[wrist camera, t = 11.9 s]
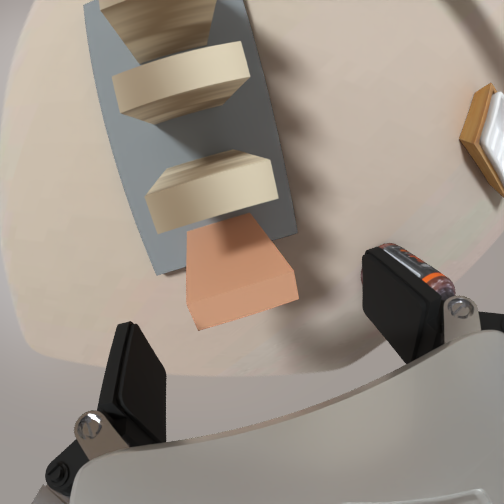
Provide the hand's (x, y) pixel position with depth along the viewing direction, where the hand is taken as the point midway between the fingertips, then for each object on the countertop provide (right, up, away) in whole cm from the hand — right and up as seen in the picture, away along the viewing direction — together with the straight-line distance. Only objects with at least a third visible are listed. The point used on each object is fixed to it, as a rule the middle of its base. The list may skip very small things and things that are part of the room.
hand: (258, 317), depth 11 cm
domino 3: (-4, +9, +9) cm, 13 cm away
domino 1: (-6, +17, +5) cm, 19 cm away
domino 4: (-3, +4, +11) cm, 12 cm away
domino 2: (-5, +13, +7) cm, 15 cm away
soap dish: (+30, +17, +14) cm, 37 cm away
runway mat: (-5, +13, +8) cm, 16 cm away
